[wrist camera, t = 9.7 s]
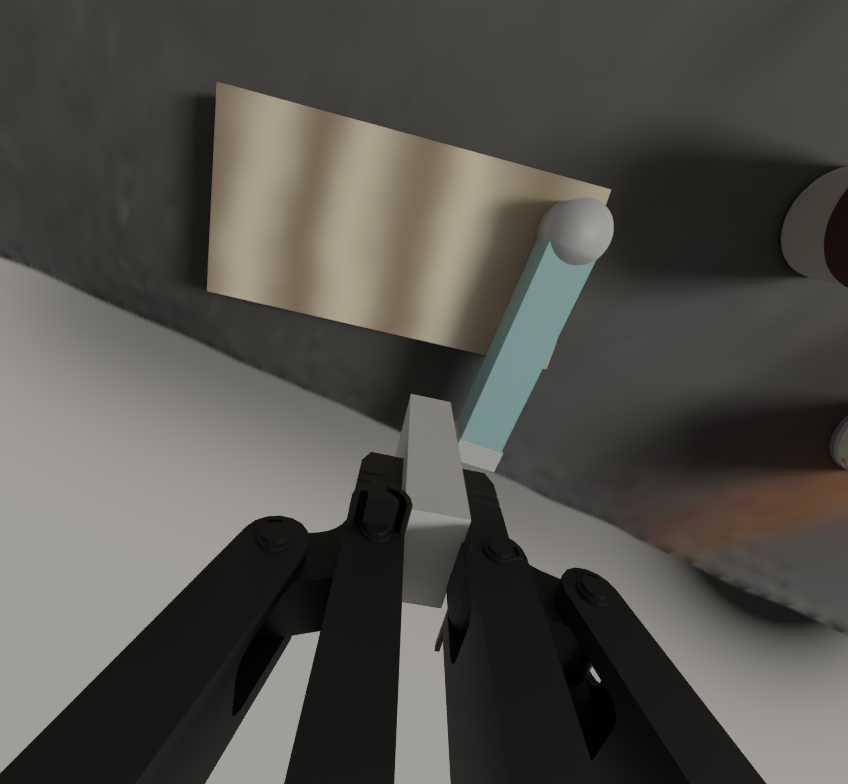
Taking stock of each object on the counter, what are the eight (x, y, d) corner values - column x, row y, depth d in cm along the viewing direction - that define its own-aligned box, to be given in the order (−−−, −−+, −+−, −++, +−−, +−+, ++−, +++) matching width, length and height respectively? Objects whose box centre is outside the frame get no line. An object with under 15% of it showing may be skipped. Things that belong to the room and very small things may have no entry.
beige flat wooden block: (226, 285, 31) (206, 291, 28) (238, 97, 27) (216, 81, 24) (536, 357, 33) (546, 369, 30) (593, 193, 29) (611, 189, 26)
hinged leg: (552, 191, 26) (569, 186, 23) (604, 213, 26) (627, 211, 23) (446, 436, 32) (448, 457, 29) (489, 450, 32) (496, 473, 29)
